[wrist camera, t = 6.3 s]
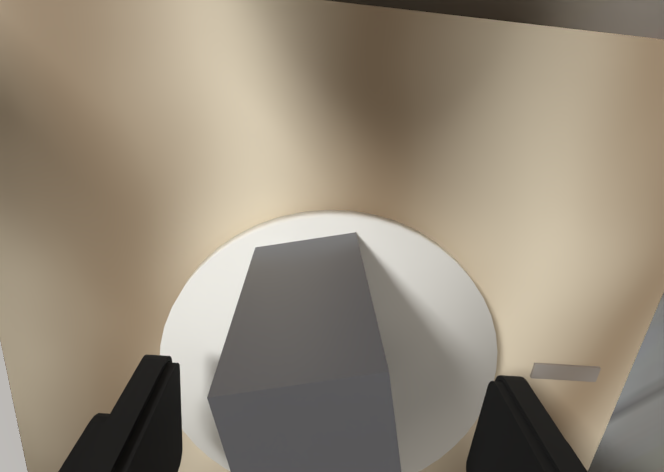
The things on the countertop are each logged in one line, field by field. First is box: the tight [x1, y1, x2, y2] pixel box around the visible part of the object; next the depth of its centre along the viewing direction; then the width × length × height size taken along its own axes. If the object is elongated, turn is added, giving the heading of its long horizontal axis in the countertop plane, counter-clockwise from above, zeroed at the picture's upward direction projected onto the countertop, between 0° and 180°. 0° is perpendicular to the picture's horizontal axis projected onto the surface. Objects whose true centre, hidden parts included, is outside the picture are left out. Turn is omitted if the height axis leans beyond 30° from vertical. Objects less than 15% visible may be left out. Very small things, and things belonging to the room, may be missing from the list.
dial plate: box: [0, 0, 664, 472], centre depth 13 cm, size 18×18×1 cm
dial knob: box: [160, 210, 497, 472], centre depth 10 cm, size 9×9×6 cm
